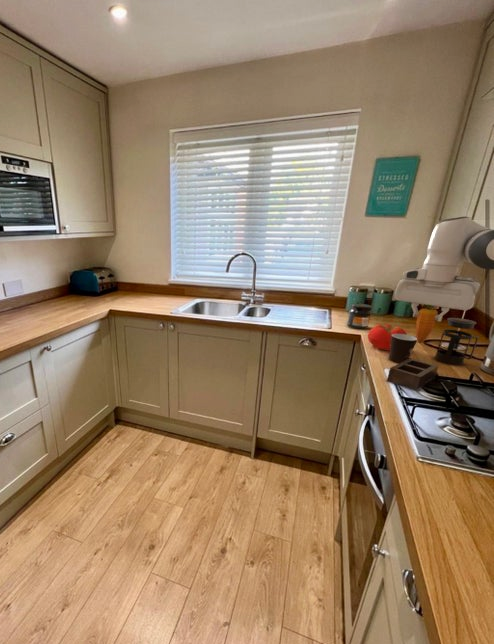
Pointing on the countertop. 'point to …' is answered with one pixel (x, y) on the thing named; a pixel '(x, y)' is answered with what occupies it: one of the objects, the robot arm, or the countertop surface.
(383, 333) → the tomato
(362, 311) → the supplement container
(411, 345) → the coffee mug
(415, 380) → the brown rectangular box
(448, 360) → the french press
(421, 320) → the carrot
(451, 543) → the countertop surface
